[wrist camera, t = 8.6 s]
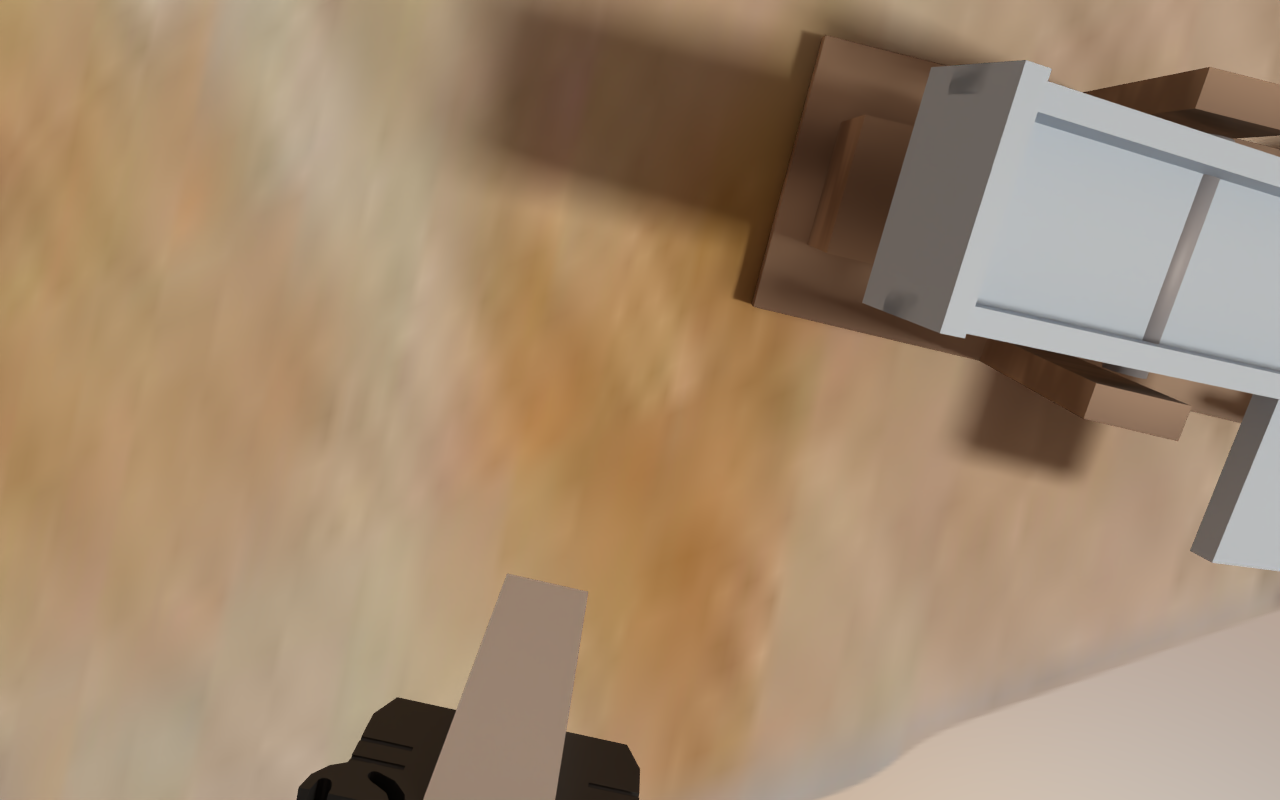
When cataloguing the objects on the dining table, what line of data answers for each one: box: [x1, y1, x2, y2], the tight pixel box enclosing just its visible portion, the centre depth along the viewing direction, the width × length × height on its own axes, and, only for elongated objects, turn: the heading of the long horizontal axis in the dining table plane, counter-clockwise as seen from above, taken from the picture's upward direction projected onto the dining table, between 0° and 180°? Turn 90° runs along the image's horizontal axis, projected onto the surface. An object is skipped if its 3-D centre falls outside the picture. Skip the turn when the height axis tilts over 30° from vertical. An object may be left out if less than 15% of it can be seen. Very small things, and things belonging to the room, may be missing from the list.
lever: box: [862, 60, 1280, 571], centre depth 30 cm, size 14×20×4 cm
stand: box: [752, 35, 1280, 441], centre depth 34 cm, size 11×23×11 cm, turn 77°
